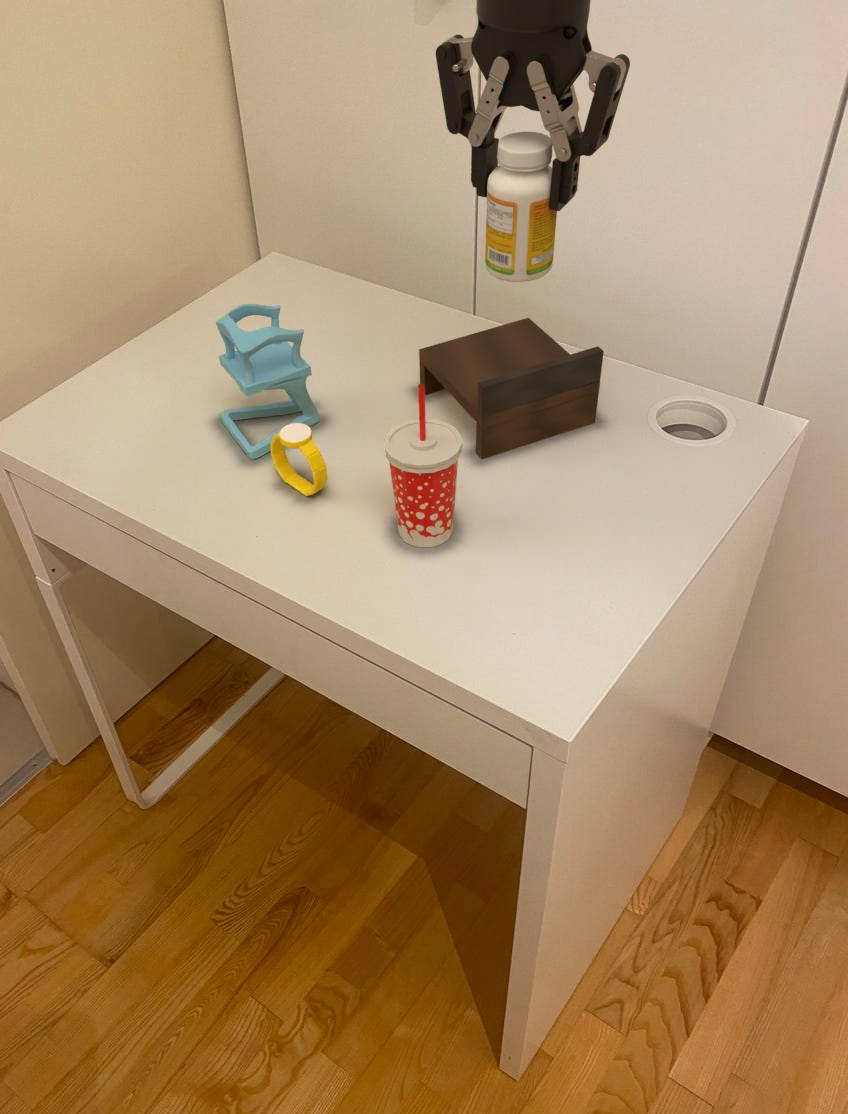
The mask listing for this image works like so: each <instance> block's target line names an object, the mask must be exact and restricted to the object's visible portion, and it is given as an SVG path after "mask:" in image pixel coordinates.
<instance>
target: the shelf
mask: <svg viewBox="0 0 848 1114" xmlns="http://www.w3.org/2000/svg"><path fill="white" fill-rule="evenodd" d="M418 360H419V384H424V385H425V396H428V395H431V394H435V393H438V392H441V391H444V390H446V391H447V392H448V393H449V394H450V395H451V397H452V398H454V400H455V401H456V402H457V403H458V404H459V405H460V406H461V407H462V409H463V410H464V411H465V412H466V413H467V415H469V417H471V418H472V419H473V421H474V422H475V454H476V455H477V456H478V457H479V458H480V459H481V460H483V459H487V458H490V457H492V456H496V455H499V454H502V453H505V452H508V451H511V450H514V449H517V448H520V447H523V446H527V445H530V444H532V443H535V442H540V441H542V440H545V439H548V438H551V437H555V436H557V435H561V434H564V433H567V432H569V431H570V432H571V431H573V430H576V429H580V428H582V427H586V426H589V425H592V424H595V423H596V420H597V413H598V412H597V411H598V402H599V395H600V387H601V378H602V369H603V361H604V350H603V349H602V348H601V347H600V346H594V347H591V348H587V349H584V350H580V351H577V352H574V353H569V351H568V350H566V348H564V347H563V346H561V345H560V344H559V343H558V342H557V341H556V340H555V339H554V338H552V336H550V334H548V333H547V332H546V331H544V330H543V328H542V327H540V326H539V325H538V324H536V323H535V322H534V321H533V320H532V319H531V318H530V317H526V318H523V319H519V320H515V321H512V322H508V323H505V324H502V325H498V326H495V327H491V328H488V329H485V330H481V331H477V332H474V333H470V334H466V335H463V336H460V337H457V338H453V339H449V340H446V341H443V342H439V343H437V344H433V345H429V346H426V347H422V348H419V349H418Z"/></svg>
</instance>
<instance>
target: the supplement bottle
mask: <svg viewBox="0 0 848 1114" xmlns="http://www.w3.org/2000/svg"><path fill="white" fill-rule="evenodd" d="M552 158H553V144H552V141H551V137H550V135H547V134H545V133H542V132H537V131H517V132H512V133H509V134H505V135H503V136H502V137H501V138H499V142H498V153H497V159H498V167H496V168H495V169H494V170H493V171H492V172H491V174H490V175H489V178H488V183H487V197H486V220H485V222H486V223H485V254H484V255H485V256H484V259H485V261H484V264H485V265H484V266H485V269H486V271H487V272H488V273H489V274H490V275H491V276H493V277H494V278H496V279H498V280H500V281H504V282H510V283H525V282H531V281H535V280H539V279H540V278H543V277H545V276H546V275H547V274H548V273H549V272H550V271H551V269H552V267H553V264H554V263H553V262H554V253H555V239H556V229H557V218H558V217H557V214H558V211H555V210H550V208H549V203H550V189H551V176H552V166H551V165H550V164H551V163H552Z"/></svg>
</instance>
